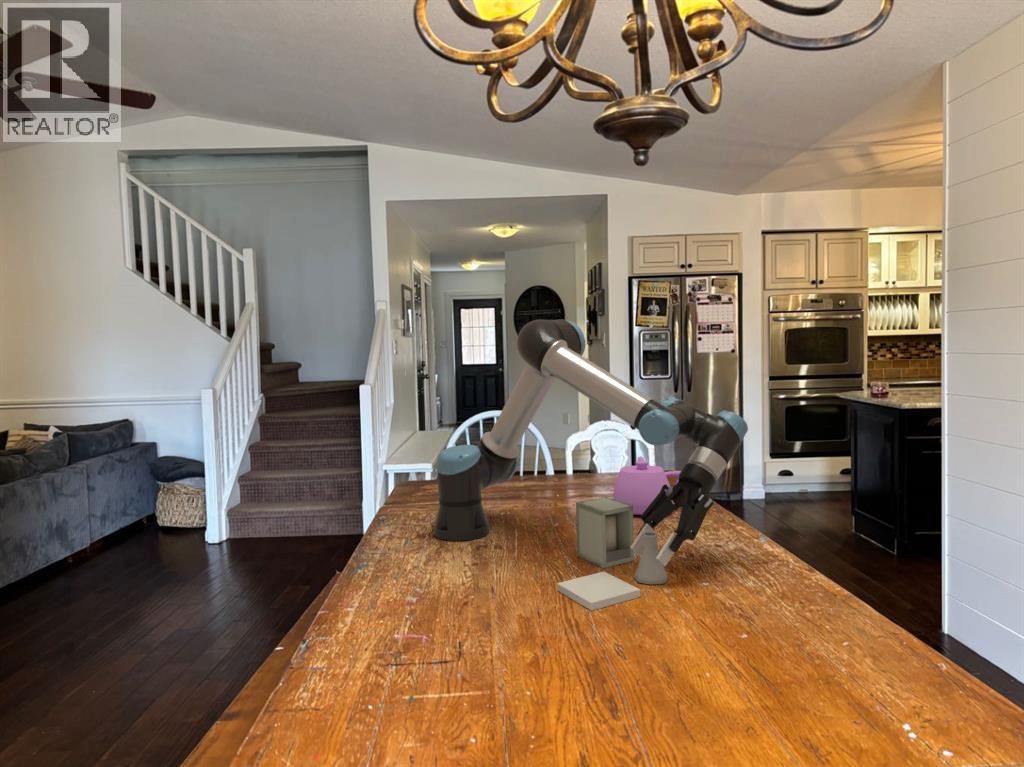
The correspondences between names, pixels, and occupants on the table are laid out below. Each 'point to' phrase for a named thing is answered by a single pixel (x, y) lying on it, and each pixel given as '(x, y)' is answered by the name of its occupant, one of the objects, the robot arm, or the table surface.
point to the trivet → (598, 590)
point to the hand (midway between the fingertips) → (647, 556)
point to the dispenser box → (605, 531)
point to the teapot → (641, 484)
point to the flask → (650, 562)
